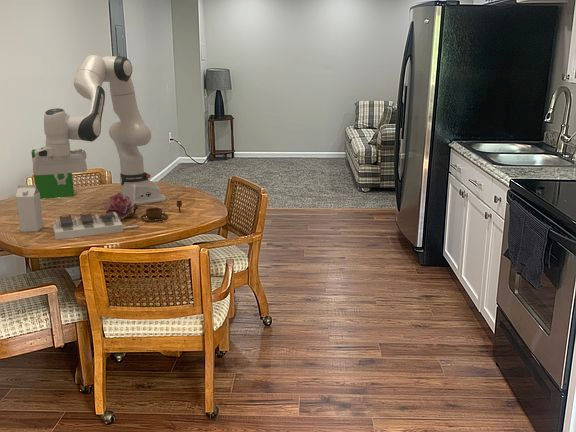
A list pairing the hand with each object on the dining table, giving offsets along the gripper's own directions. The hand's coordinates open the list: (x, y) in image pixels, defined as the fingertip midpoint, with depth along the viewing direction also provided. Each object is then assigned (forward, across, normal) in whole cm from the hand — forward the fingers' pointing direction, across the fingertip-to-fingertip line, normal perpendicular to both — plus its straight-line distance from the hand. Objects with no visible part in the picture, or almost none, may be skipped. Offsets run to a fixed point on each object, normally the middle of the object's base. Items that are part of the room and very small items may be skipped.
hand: (61, 184), depth 229 cm
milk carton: (+20, +13, -8) cm, 25 cm away
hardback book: (+20, 0, -66) cm, 68 cm away
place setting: (+20, -41, -3) cm, 46 cm away
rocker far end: (+16, 0, +2) cm, 16 cm away
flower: (+20, -24, -12) cm, 33 cm away
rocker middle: (+16, -8, +2) cm, 18 cm away
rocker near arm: (+16, -16, +3) cm, 23 cm away
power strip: (+20, -12, +4) cm, 23 cm away
